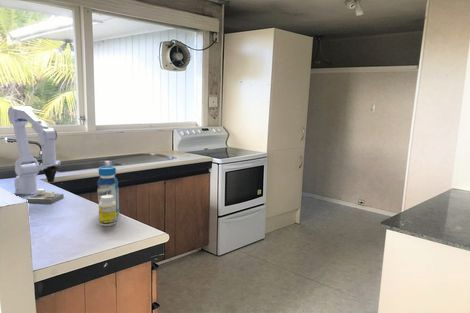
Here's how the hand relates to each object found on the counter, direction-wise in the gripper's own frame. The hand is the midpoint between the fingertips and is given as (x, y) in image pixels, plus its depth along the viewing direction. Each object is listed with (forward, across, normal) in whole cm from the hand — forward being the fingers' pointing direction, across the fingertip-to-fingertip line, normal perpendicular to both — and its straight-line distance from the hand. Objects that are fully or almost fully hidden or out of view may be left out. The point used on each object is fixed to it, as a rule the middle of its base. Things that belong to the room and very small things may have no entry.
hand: (50, 182), depth 171 cm
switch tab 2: (+6, -4, -1) cm, 7 cm away
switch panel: (+8, -2, +2) cm, 9 cm away
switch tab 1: (+6, 0, +6) cm, 8 cm away
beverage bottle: (+8, -18, -37) cm, 41 cm away
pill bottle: (+8, -29, -42) cm, 52 cm away
